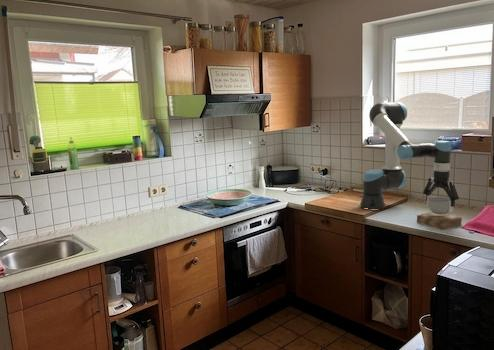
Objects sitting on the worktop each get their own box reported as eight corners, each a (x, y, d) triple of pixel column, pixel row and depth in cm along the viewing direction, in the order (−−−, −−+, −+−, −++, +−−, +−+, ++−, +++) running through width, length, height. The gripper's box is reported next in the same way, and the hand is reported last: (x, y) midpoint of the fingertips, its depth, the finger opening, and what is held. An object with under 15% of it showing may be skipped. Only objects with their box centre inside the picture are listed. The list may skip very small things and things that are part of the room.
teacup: (453, 216, 216) (454, 201, 214) (430, 215, 218) (431, 200, 216) (446, 209, 229) (447, 194, 228) (425, 208, 231) (426, 194, 230)
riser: (416, 222, 228) (417, 214, 227) (435, 217, 235) (435, 210, 234) (442, 229, 214) (443, 221, 213) (461, 224, 221) (461, 217, 220)
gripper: (417, 168, 228) (415, 205, 232) (458, 174, 206) (456, 215, 210) (426, 166, 231) (424, 203, 235) (468, 172, 210) (465, 213, 214)
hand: (439, 209), depth 223 cm, fingers closed on teacup, 12 cm apart
